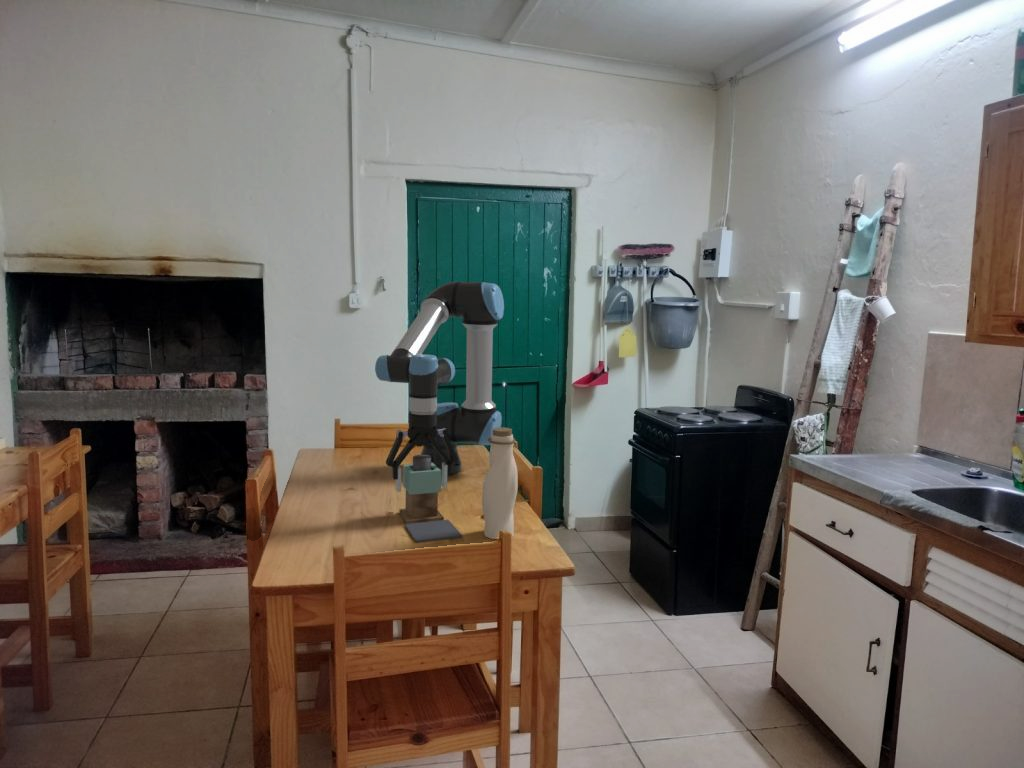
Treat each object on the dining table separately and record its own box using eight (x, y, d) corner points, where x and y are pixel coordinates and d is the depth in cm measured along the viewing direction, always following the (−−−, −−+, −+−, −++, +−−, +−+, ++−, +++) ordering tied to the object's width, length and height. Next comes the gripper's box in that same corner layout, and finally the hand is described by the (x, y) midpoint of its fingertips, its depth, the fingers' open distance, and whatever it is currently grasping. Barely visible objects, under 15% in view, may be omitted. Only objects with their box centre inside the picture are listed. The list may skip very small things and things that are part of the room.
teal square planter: (432, 483, 192) (432, 462, 192) (440, 492, 185) (441, 470, 184) (402, 485, 189) (403, 464, 188) (410, 494, 181) (410, 473, 181)
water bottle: (480, 526, 182) (483, 424, 178) (513, 526, 183) (517, 424, 179) (481, 540, 172) (485, 432, 168) (517, 540, 173) (521, 433, 169)
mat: (448, 521, 185) (448, 519, 185) (461, 537, 174) (461, 535, 174) (404, 526, 180) (404, 524, 180) (416, 542, 169) (416, 540, 169)
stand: (433, 509, 195) (434, 451, 192) (443, 520, 185) (444, 460, 183) (399, 512, 191) (399, 453, 188) (407, 524, 182) (408, 463, 179)
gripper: (461, 407, 192) (459, 481, 195) (374, 411, 183) (374, 488, 186) (470, 412, 185) (468, 488, 188) (380, 416, 176) (380, 496, 179)
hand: (421, 488), depth 187 cm, fingers open, 12 cm apart
